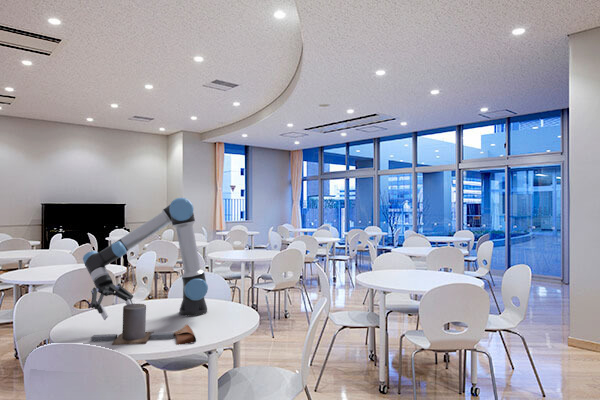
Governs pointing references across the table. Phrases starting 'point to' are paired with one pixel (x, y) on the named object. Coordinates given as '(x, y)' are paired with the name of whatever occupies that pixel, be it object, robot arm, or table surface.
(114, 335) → the chain ends
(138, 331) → the pillar candle
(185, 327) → the sunglasses case
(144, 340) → the brown wooden square board
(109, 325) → the table surface
